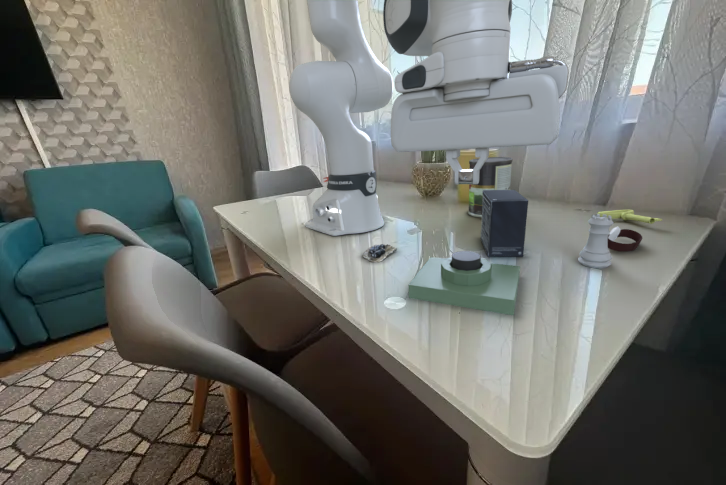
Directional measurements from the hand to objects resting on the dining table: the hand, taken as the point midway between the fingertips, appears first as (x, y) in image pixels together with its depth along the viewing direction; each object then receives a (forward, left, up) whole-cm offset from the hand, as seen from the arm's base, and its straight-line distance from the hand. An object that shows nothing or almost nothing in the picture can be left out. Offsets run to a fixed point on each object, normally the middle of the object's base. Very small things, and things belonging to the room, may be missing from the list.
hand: (466, 183), depth 43 cm
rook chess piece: (+14, +18, -16) cm, 28 cm away
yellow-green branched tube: (+17, +46, -15) cm, 51 cm away
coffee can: (-12, +43, -16) cm, 47 cm away
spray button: (0, 0, -12) cm, 12 cm away
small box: (-1, +19, -16) cm, 25 cm away
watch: (+17, +28, -16) cm, 36 cm away
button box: (0, 0, -16) cm, 16 cm away
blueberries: (-20, +5, -16) cm, 26 cm away
